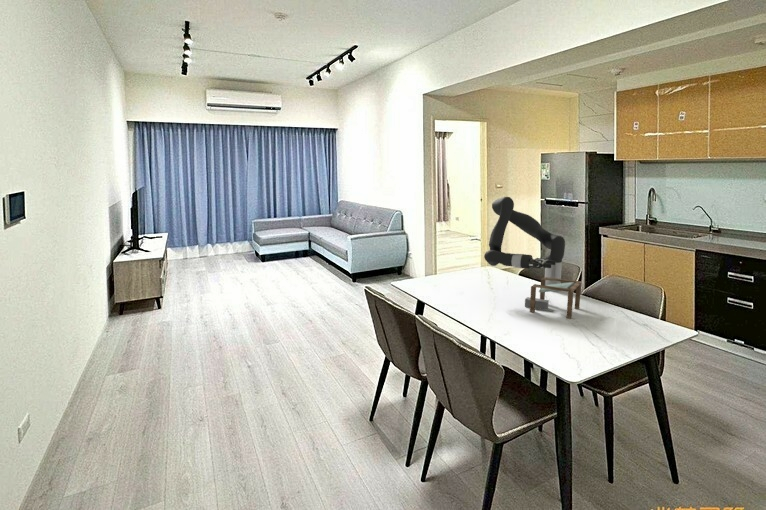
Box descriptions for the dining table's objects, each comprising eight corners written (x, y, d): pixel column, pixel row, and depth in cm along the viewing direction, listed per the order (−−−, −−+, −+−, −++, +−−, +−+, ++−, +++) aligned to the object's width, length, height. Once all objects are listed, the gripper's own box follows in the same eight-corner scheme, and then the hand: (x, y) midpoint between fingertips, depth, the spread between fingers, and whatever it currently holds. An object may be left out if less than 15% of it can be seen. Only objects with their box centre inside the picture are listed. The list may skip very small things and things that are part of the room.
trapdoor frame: (540, 302, 253) (542, 276, 251) (579, 308, 242) (581, 281, 240) (529, 312, 237) (531, 284, 234) (570, 318, 226) (572, 290, 223)
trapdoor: (546, 286, 247) (546, 284, 247) (575, 283, 239) (574, 281, 239) (539, 292, 236) (538, 290, 236) (569, 290, 227) (568, 287, 227)
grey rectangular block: (548, 308, 244) (527, 305, 250) (548, 300, 243) (527, 297, 249) (545, 310, 240) (524, 307, 246) (546, 302, 239) (525, 299, 245)
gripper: (518, 256, 239) (550, 259, 230) (526, 252, 250) (557, 255, 241) (517, 270, 240) (549, 274, 231) (525, 265, 252) (556, 269, 243)
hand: (553, 264), depth 236 cm, fingers open, 8 cm apart
